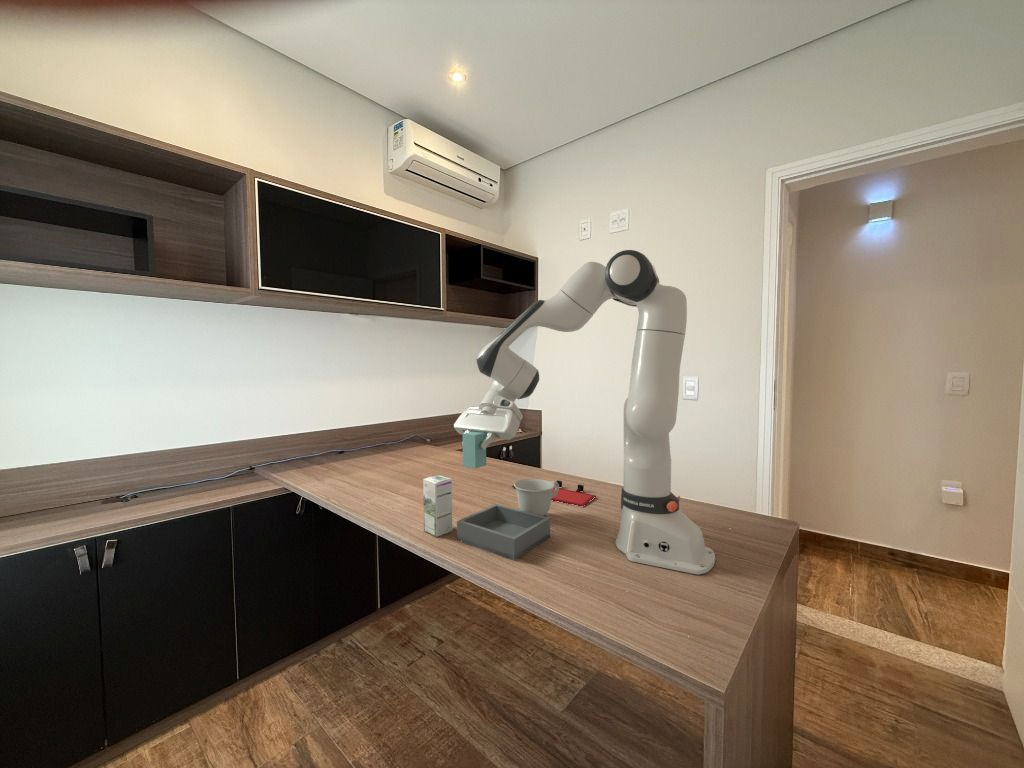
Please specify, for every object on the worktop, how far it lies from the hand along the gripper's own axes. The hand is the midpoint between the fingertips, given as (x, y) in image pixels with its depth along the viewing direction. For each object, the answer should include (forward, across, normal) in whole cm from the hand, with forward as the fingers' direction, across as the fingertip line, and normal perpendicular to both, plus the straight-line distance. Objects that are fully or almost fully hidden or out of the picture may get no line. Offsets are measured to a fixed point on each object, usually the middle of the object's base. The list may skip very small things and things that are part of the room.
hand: (472, 447), depth 110 cm
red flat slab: (-12, +1, +45) cm, 46 cm away
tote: (+16, +10, +16) cm, 25 cm away
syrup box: (+21, -7, +11) cm, 25 cm away
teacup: (+4, +9, +29) cm, 31 cm away
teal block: (+3, 0, +4) cm, 5 cm away
